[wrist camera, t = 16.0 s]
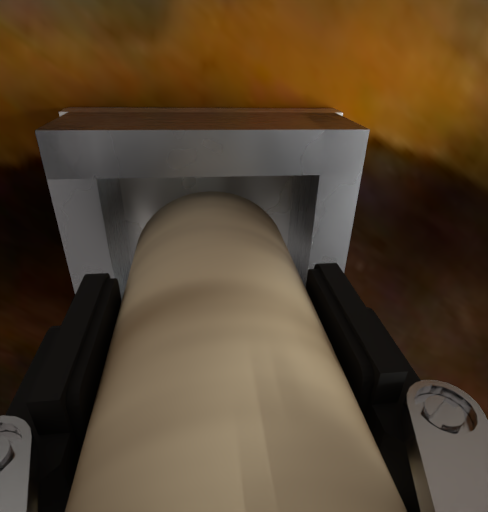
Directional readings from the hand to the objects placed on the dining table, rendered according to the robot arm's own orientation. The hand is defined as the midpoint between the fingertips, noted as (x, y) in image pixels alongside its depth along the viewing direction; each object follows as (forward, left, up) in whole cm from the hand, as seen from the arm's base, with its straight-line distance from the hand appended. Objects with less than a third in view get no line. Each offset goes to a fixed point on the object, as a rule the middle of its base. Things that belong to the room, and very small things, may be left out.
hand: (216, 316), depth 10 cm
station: (-10, 0, -6) cm, 12 cm away
